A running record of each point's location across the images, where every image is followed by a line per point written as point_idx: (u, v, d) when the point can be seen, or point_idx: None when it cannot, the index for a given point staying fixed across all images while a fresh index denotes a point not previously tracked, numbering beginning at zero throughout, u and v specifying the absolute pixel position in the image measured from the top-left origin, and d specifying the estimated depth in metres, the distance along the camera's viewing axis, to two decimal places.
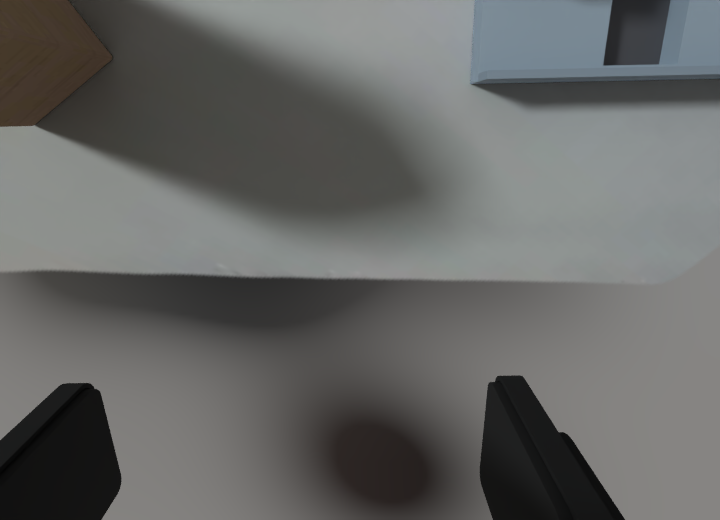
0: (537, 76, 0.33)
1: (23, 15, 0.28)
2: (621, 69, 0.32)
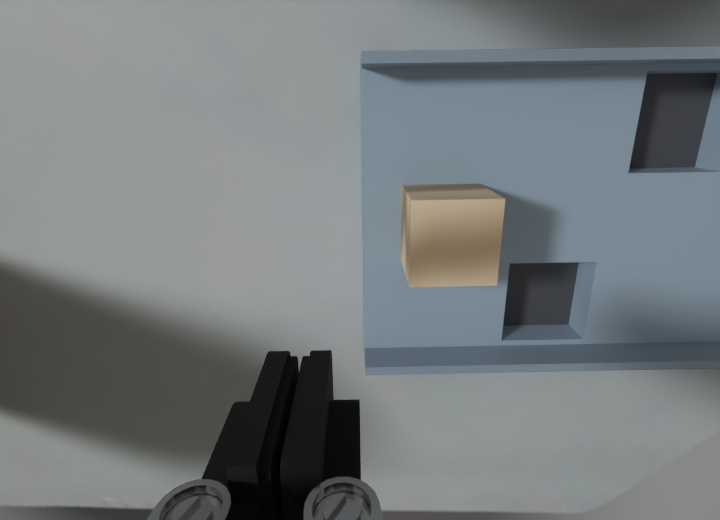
0: (421, 372, 0.29)
1: None
2: (514, 366, 0.29)
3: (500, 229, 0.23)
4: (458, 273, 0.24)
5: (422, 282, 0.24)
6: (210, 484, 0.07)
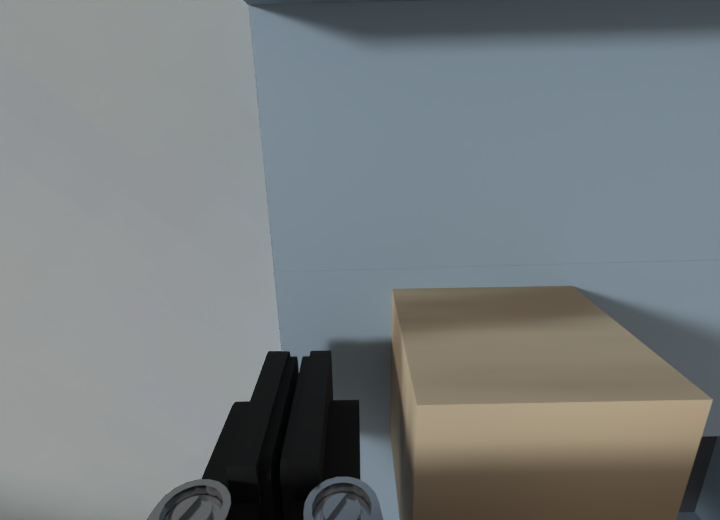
0: None
1: None
2: None
3: (683, 477, 0.08)
4: None
5: None
6: (210, 484, 0.07)
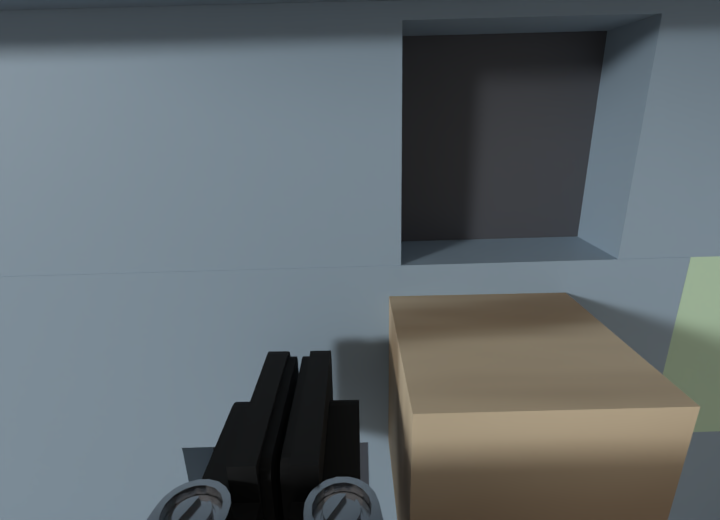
0: None
1: None
2: None
3: (673, 482, 0.08)
4: None
5: None
6: (210, 484, 0.07)
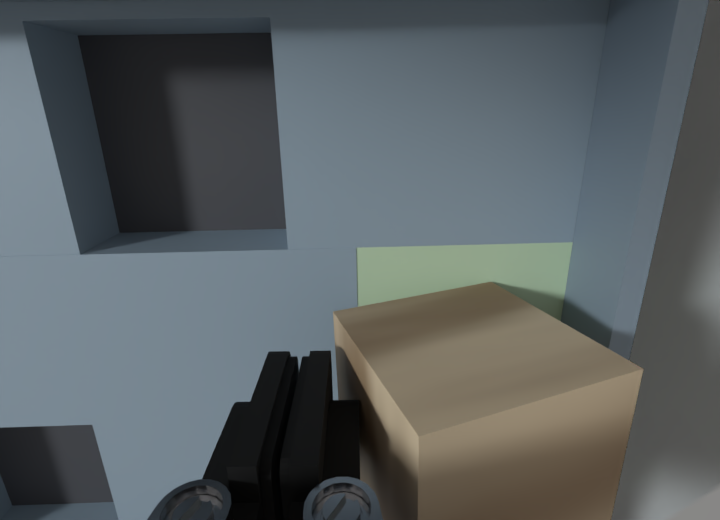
0: None
1: None
2: None
3: (625, 438, 0.09)
4: None
5: None
6: (210, 484, 0.07)
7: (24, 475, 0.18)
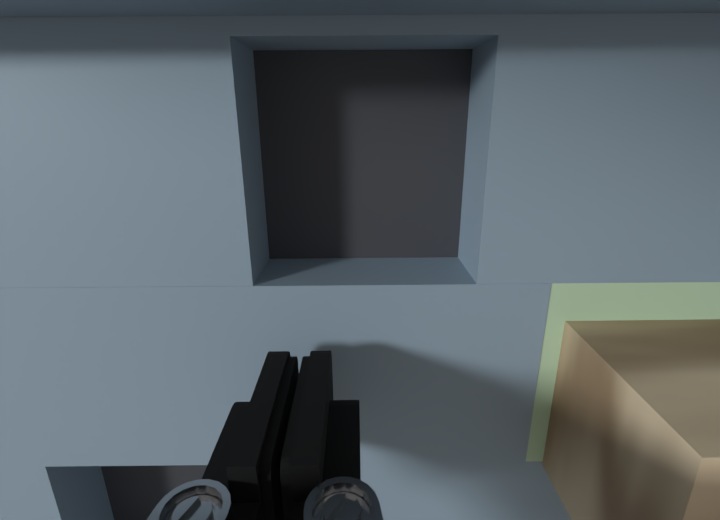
0: None
1: None
2: None
3: None
4: None
5: None
6: (210, 484, 0.07)
7: (136, 508, 0.17)
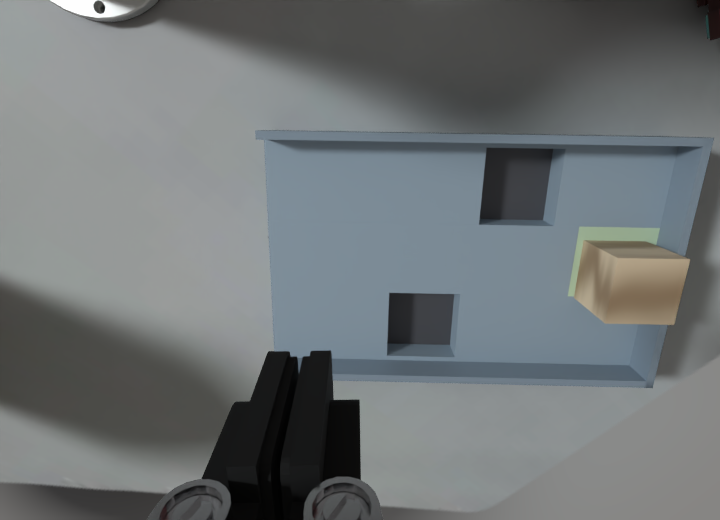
0: None
1: None
2: (389, 376, 0.36)
3: (683, 282, 0.30)
4: (645, 314, 0.31)
5: (615, 320, 0.31)
6: (210, 484, 0.07)
7: (396, 327, 0.40)
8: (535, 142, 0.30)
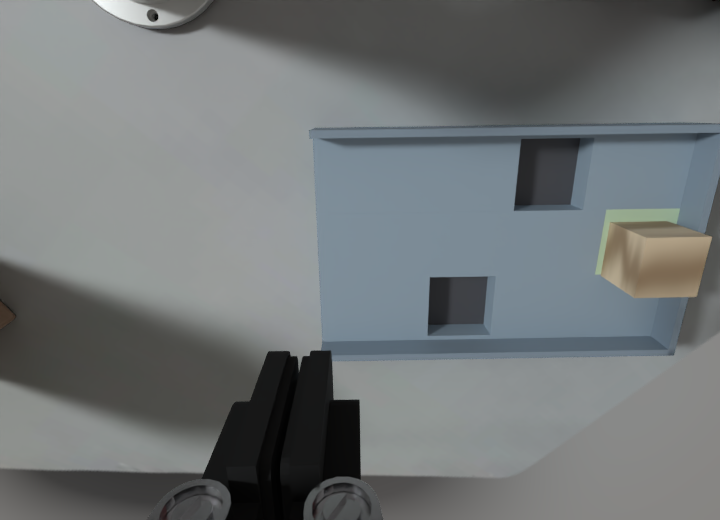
0: (362, 359, 0.39)
1: None
2: (432, 355, 0.39)
3: (705, 257, 0.33)
4: (671, 288, 0.34)
5: (643, 294, 0.34)
6: (210, 484, 0.07)
7: (434, 309, 0.43)
8: (569, 133, 0.33)
